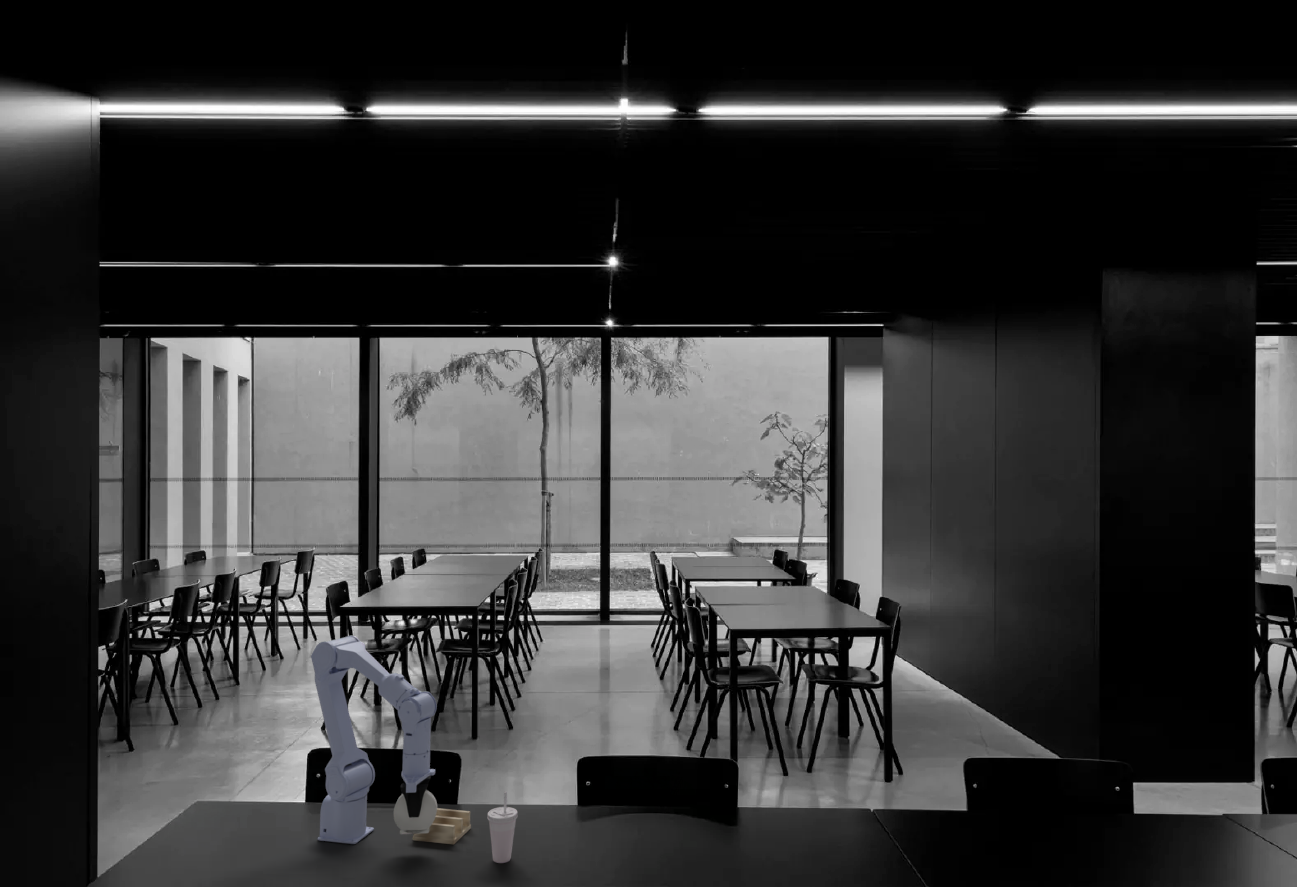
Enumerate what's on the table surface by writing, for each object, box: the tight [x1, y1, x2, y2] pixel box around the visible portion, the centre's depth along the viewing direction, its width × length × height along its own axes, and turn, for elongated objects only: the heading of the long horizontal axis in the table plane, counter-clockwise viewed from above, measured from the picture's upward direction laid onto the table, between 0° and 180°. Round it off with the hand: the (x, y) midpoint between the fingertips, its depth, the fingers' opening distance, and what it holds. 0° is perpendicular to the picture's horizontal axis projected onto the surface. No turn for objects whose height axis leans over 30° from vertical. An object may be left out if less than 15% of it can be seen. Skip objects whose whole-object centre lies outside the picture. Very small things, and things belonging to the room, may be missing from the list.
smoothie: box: [486, 790, 518, 864], centre depth 172 cm, size 6×6×14 cm
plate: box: [392, 789, 438, 835], centre depth 176 cm, size 9×2×9 cm, turn 98°
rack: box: [412, 807, 472, 845], centre depth 184 cm, size 10×9×4 cm
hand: (415, 814), depth 176 cm, fingers closed on plate, 2 cm apart
